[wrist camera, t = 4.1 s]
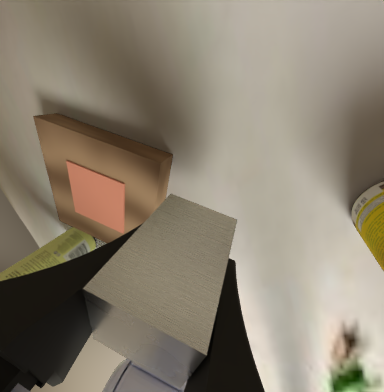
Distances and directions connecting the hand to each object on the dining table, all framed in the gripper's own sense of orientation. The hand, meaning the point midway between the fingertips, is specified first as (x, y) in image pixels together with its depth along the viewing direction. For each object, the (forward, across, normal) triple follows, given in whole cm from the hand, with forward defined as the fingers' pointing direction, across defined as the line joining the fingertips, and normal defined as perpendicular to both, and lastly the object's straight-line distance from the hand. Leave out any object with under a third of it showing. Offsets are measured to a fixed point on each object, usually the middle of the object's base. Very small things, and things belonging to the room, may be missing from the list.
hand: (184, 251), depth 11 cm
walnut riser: (+8, +12, +5) cm, 15 cm away
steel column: (+2, 0, 0) cm, 2 cm away
